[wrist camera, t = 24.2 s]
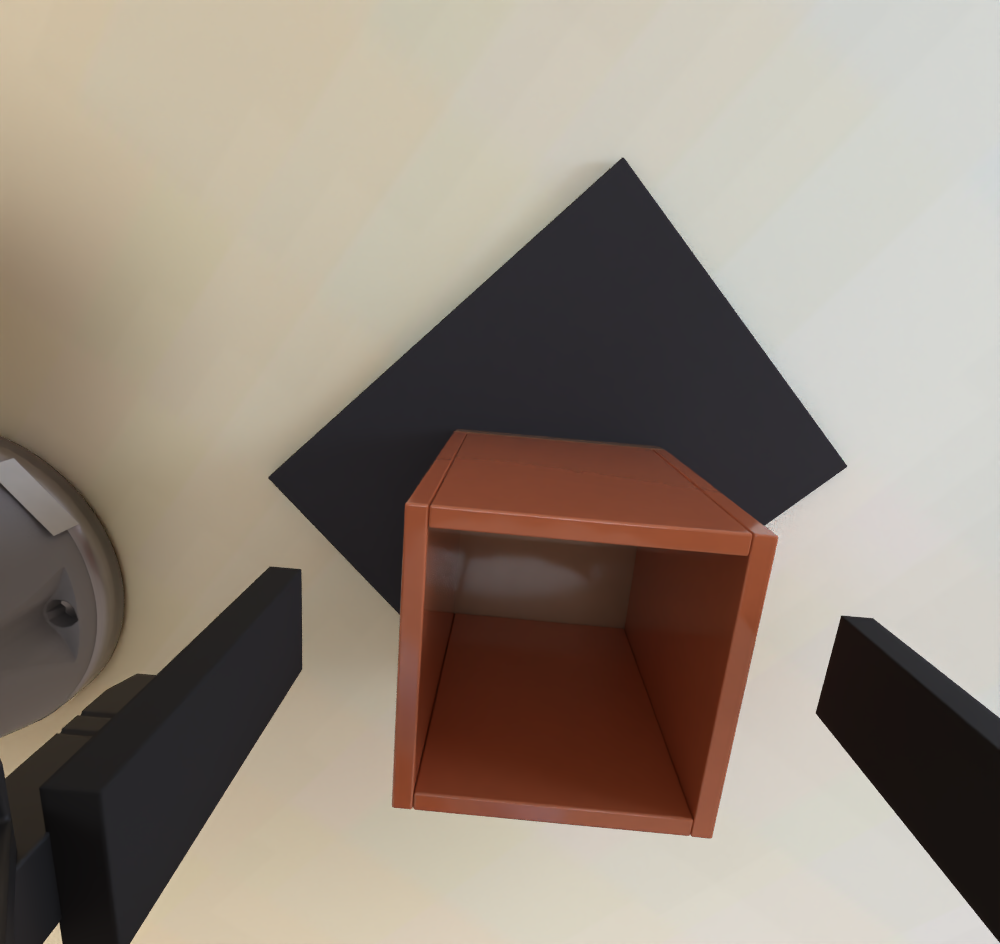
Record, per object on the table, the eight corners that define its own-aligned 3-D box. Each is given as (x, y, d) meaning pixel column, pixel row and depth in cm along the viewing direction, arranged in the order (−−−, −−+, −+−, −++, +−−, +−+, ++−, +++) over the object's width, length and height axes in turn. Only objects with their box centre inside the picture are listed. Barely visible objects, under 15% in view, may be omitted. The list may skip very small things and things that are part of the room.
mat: (497, 710, 28) (496, 716, 27) (271, 475, 25) (267, 477, 25) (842, 464, 24) (848, 466, 24) (621, 159, 21) (623, 156, 21)
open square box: (443, 614, 26) (455, 428, 24) (631, 631, 26) (661, 446, 24) (391, 808, 15) (404, 502, 13) (712, 839, 15) (779, 536, 13)
